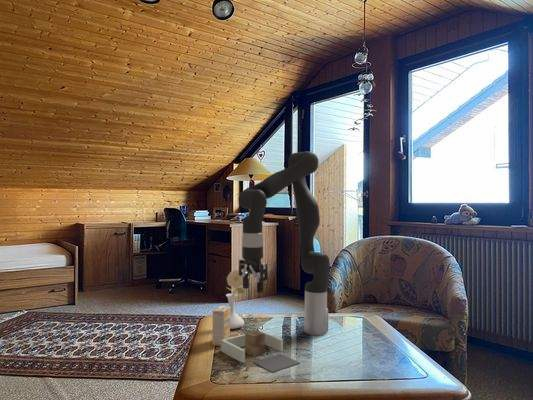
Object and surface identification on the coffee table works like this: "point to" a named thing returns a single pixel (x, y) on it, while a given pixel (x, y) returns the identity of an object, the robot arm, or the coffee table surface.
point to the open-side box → (234, 343)
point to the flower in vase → (235, 282)
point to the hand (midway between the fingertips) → (252, 290)
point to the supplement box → (221, 324)
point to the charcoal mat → (276, 363)
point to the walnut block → (255, 342)
